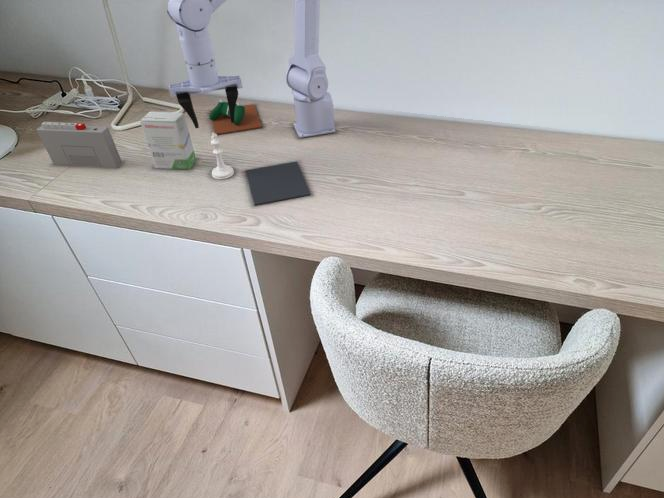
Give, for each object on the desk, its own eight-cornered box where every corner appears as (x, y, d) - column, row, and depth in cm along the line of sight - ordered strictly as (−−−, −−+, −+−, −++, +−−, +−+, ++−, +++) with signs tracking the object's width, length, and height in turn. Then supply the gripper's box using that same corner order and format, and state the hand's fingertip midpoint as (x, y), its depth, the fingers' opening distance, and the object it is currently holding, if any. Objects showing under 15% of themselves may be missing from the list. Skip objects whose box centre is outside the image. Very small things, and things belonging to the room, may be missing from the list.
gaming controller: (244, 129, 130) (250, 107, 130) (236, 124, 127) (242, 101, 127) (215, 123, 133) (221, 101, 133) (207, 118, 129) (213, 96, 129)
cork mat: (254, 105, 138) (253, 104, 137) (262, 127, 128) (261, 126, 128) (210, 112, 135) (210, 110, 135) (215, 135, 125) (214, 133, 125)
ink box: (154, 168, 114) (137, 121, 106) (163, 157, 118) (147, 110, 110) (190, 170, 113) (176, 122, 105) (197, 158, 117) (184, 111, 109)
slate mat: (297, 162, 115) (296, 161, 115) (310, 195, 105) (310, 193, 105) (245, 171, 113) (245, 170, 112) (254, 205, 103) (254, 204, 103)
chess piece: (238, 170, 113) (229, 130, 106) (225, 181, 110) (215, 140, 103) (220, 165, 115) (210, 125, 108) (207, 176, 111) (196, 136, 104)
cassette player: (122, 162, 117) (106, 122, 110) (116, 168, 115) (100, 128, 108) (60, 159, 118) (41, 120, 111) (54, 164, 116) (33, 125, 109)
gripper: (162, 72, 94) (181, 137, 103) (238, 62, 97) (250, 126, 106) (162, 59, 99) (180, 122, 108) (234, 50, 102) (246, 112, 111)
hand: (214, 123), depth 108 cm, fingers open, 7 cm apart
